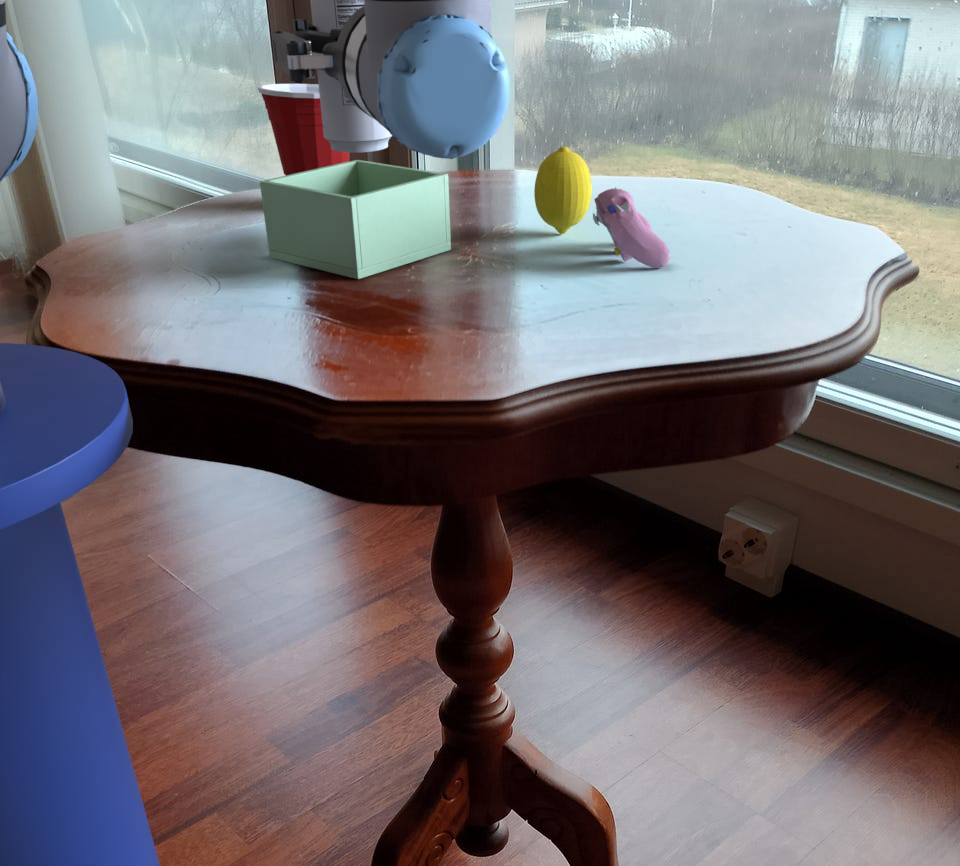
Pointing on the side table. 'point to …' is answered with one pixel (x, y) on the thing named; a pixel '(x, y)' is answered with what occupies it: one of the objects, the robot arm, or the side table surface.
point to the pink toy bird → (629, 229)
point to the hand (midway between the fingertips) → (340, 36)
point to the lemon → (563, 189)
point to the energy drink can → (339, 114)
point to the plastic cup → (299, 127)
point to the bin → (357, 217)
